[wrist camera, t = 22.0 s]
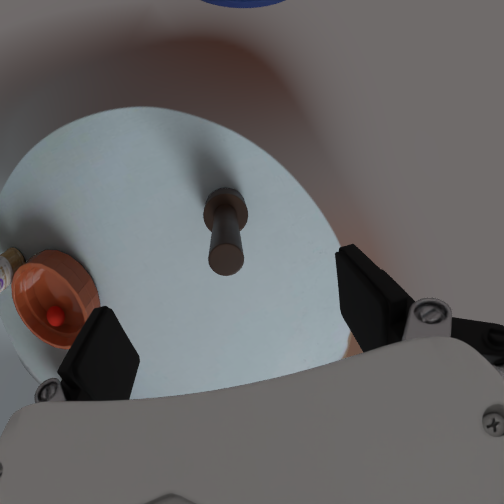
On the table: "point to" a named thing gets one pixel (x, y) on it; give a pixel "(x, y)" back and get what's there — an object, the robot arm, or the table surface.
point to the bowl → (54, 296)
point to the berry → (55, 316)
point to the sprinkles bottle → (9, 266)
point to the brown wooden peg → (225, 230)
